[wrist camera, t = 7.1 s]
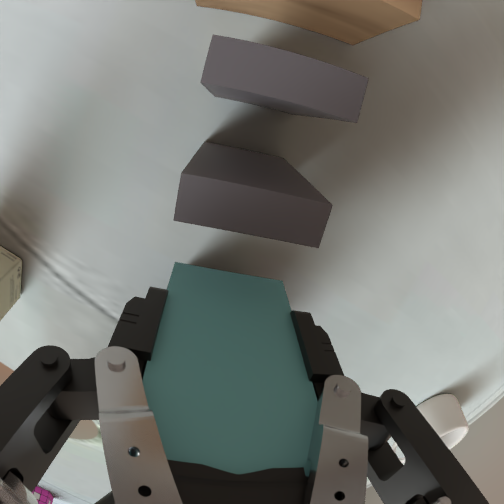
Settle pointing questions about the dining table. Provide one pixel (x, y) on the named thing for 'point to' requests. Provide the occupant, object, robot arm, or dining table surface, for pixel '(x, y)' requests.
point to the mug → (443, 419)
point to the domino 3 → (230, 374)
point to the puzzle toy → (42, 496)
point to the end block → (330, 15)
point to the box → (9, 280)
